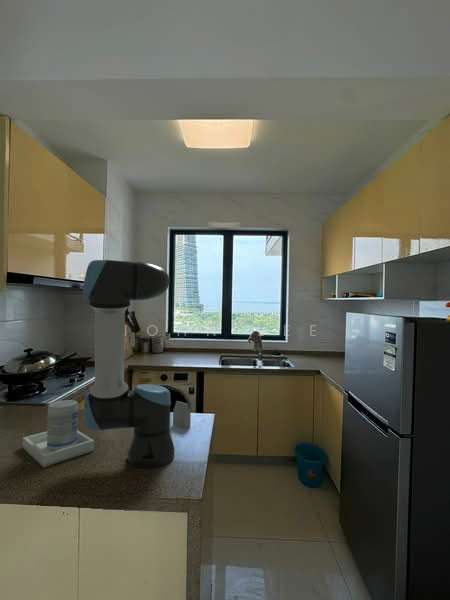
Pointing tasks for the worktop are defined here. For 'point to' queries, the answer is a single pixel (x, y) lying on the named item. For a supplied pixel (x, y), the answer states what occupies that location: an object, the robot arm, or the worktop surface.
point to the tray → (46, 457)
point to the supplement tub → (62, 424)
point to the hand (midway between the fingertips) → (118, 347)
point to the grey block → (181, 415)
